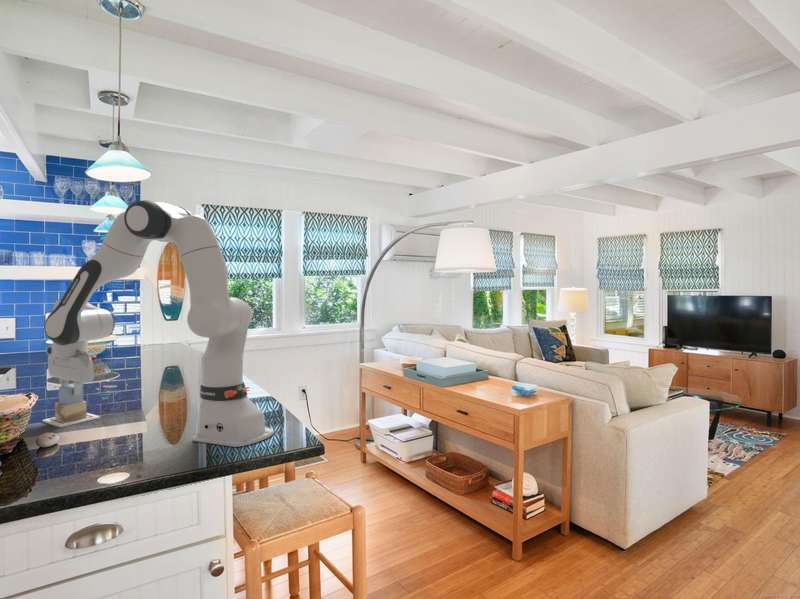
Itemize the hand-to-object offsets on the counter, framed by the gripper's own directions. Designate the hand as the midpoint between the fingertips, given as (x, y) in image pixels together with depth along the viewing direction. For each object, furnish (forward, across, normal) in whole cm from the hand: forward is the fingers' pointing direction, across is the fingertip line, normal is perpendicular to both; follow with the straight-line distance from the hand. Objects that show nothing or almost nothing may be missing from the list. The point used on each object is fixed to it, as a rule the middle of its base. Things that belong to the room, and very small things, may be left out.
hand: (71, 393), depth 142 cm
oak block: (+8, 0, 0) cm, 8 cm away
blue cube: (+3, 0, 0) cm, 3 cm away
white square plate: (+8, 0, 0) cm, 8 cm away
